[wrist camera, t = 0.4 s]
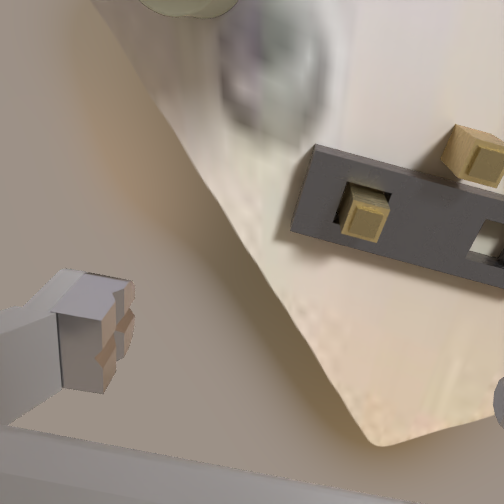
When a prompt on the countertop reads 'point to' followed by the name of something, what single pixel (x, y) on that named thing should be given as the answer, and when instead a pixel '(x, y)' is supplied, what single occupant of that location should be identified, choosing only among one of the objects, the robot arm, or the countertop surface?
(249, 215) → the countertop surface
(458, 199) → the grey peg hole board
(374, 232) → the tan square peg
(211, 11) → the glass tumbler
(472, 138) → the wooden post chunk
